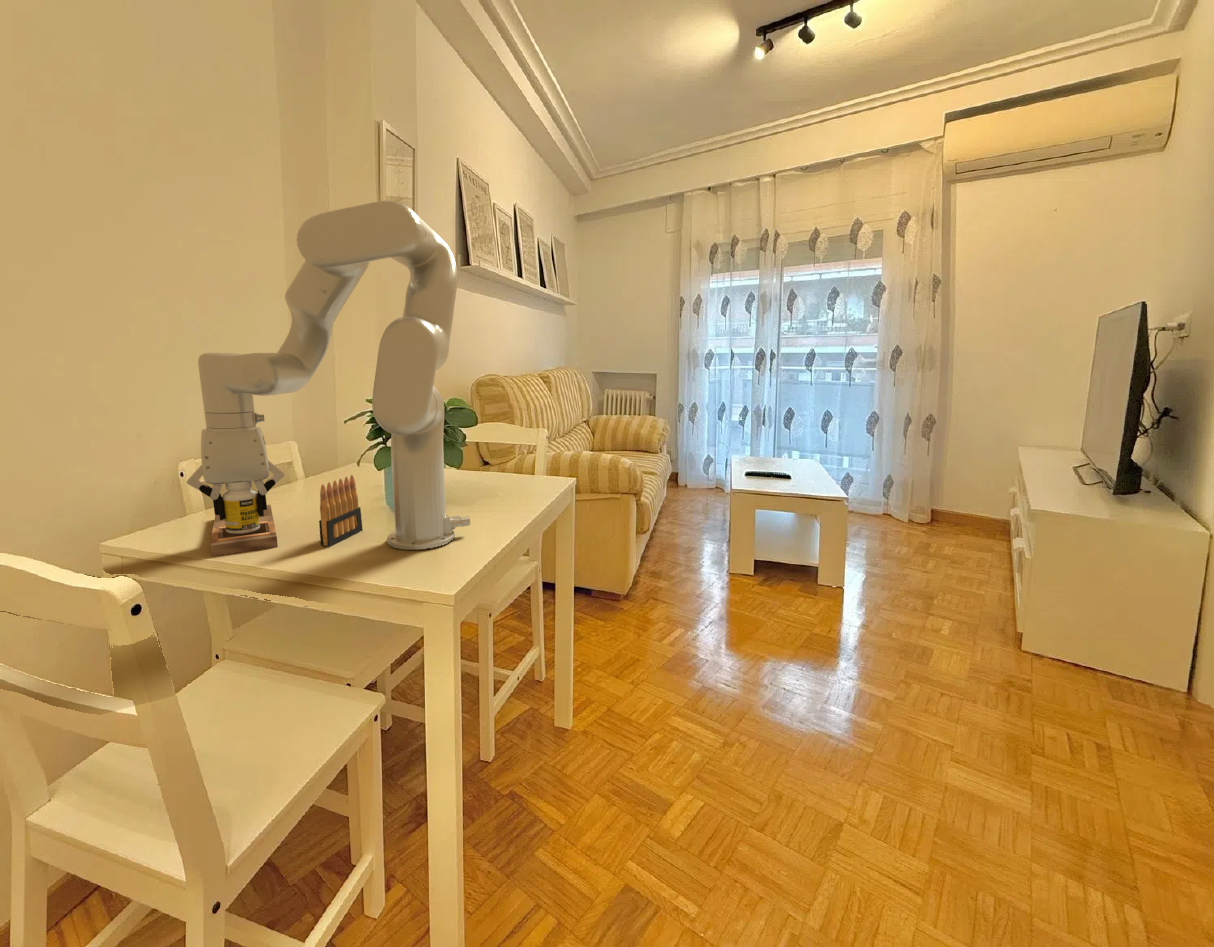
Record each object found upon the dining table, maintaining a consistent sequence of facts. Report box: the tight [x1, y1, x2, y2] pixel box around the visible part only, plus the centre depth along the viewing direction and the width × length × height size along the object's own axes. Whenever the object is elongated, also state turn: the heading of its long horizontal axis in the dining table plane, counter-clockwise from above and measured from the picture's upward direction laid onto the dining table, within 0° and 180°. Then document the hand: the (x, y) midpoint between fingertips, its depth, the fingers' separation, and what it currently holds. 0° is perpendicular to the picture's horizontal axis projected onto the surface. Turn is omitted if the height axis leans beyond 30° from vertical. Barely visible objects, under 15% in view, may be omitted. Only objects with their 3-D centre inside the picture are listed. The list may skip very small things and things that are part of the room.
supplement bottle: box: [222, 481, 260, 534], centre depth 100 cm, size 5×5×10 cm
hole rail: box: [209, 504, 279, 557], centre depth 106 cm, size 10×26×2 cm, turn 34°
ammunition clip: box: [318, 474, 363, 548], centre depth 103 cm, size 11×2×12 cm, turn 172°
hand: (242, 515), depth 100 cm, fingers closed on supplement bottle, 5 cm apart
